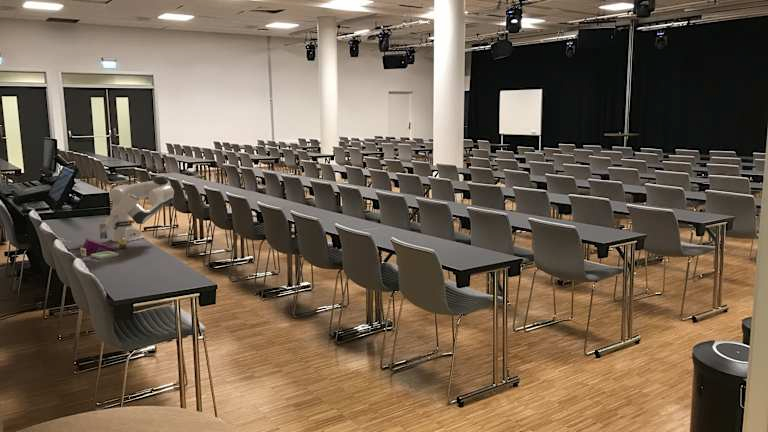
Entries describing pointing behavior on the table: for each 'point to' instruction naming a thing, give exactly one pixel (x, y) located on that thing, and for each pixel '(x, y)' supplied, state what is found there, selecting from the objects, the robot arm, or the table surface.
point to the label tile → (83, 252)
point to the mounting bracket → (95, 246)
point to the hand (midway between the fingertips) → (102, 230)
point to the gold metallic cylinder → (122, 243)
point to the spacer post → (102, 234)
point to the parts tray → (104, 255)
